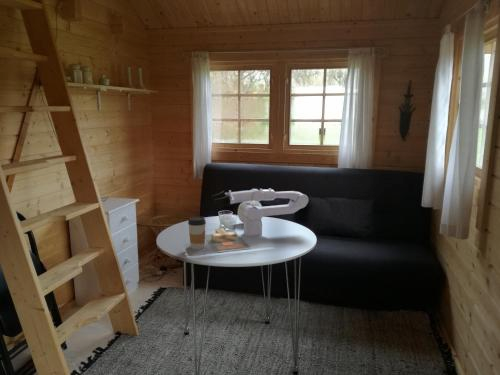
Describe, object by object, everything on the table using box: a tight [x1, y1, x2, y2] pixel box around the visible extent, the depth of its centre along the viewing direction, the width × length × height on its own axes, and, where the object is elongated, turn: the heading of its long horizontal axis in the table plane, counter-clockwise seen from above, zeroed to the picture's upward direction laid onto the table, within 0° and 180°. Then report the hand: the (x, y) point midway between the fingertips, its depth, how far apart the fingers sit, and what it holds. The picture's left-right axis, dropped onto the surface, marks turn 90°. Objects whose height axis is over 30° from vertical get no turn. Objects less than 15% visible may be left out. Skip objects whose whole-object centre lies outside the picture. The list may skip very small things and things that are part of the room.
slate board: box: [205, 233, 251, 254], centre depth 200 cm, size 18×26×1 cm
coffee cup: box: [187, 216, 207, 250], centre depth 190 cm, size 8×8×15 cm
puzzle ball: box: [237, 200, 264, 224], centre depth 232 cm, size 15×15×15 cm
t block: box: [211, 228, 238, 242], centre depth 205 cm, size 12×12×3 cm
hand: (213, 199), depth 203 cm, fingers open, 7 cm apart
